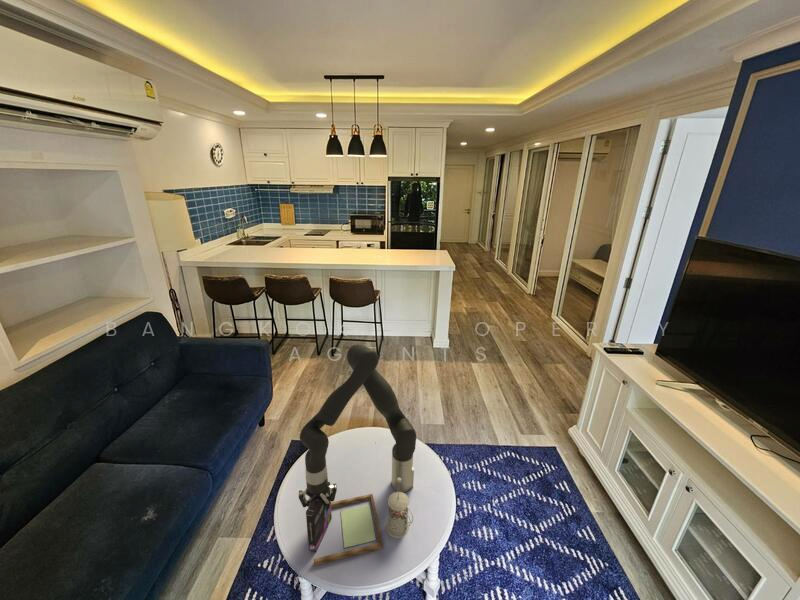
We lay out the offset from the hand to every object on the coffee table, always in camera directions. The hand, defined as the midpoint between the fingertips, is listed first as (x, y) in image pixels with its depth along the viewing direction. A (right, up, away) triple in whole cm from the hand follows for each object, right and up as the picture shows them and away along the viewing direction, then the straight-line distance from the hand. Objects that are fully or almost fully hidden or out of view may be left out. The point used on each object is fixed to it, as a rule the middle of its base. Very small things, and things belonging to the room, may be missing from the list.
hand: (319, 510), depth 123 cm
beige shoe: (+30, -12, +7) cm, 33 cm away
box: (0, -12, +4) cm, 13 cm away
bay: (+9, -11, +6) cm, 16 cm away
